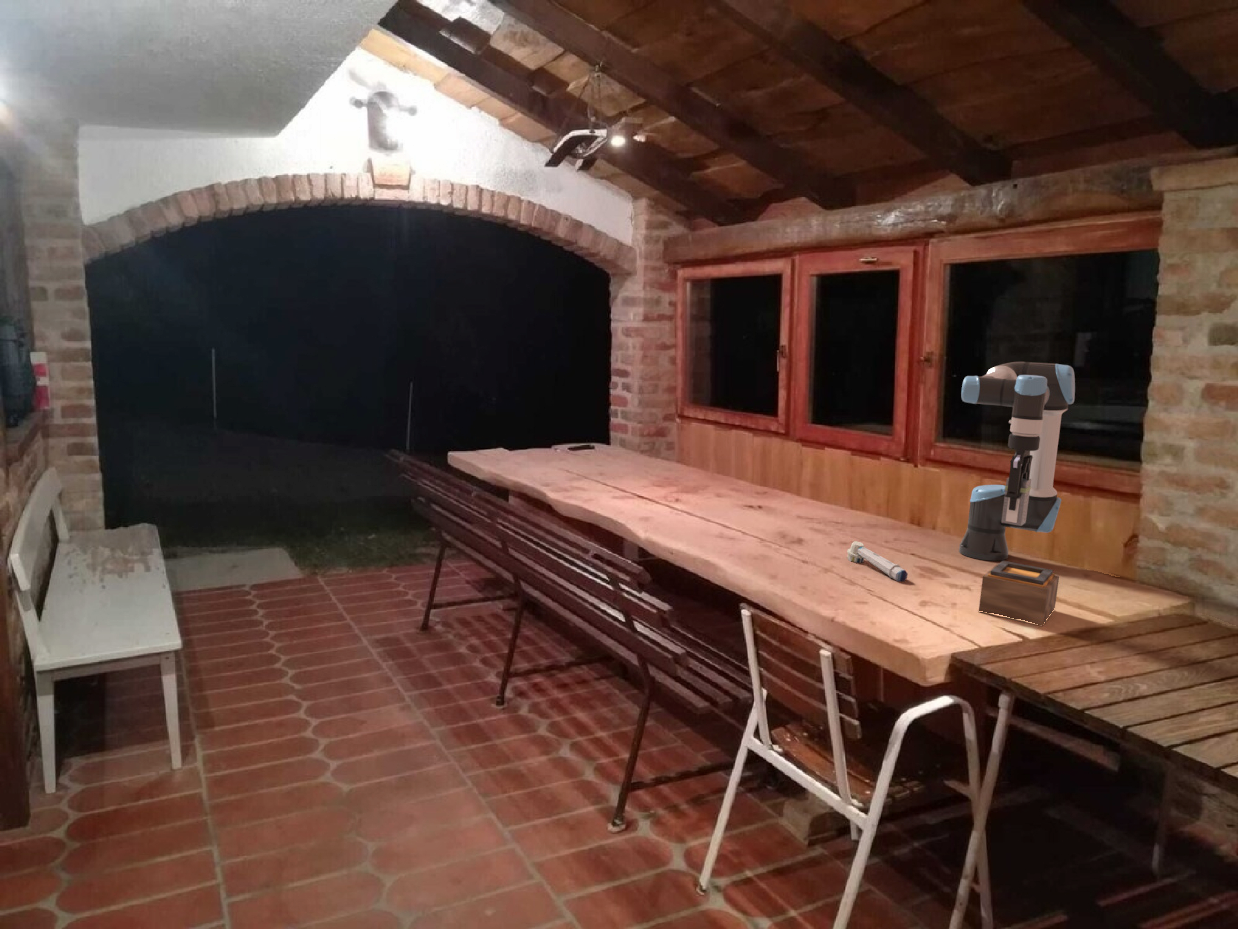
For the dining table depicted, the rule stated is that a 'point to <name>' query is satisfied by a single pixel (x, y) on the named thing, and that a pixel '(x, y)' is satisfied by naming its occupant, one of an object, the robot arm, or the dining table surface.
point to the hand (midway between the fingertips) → (1014, 519)
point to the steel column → (1022, 505)
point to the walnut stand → (1019, 592)
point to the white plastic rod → (875, 561)
